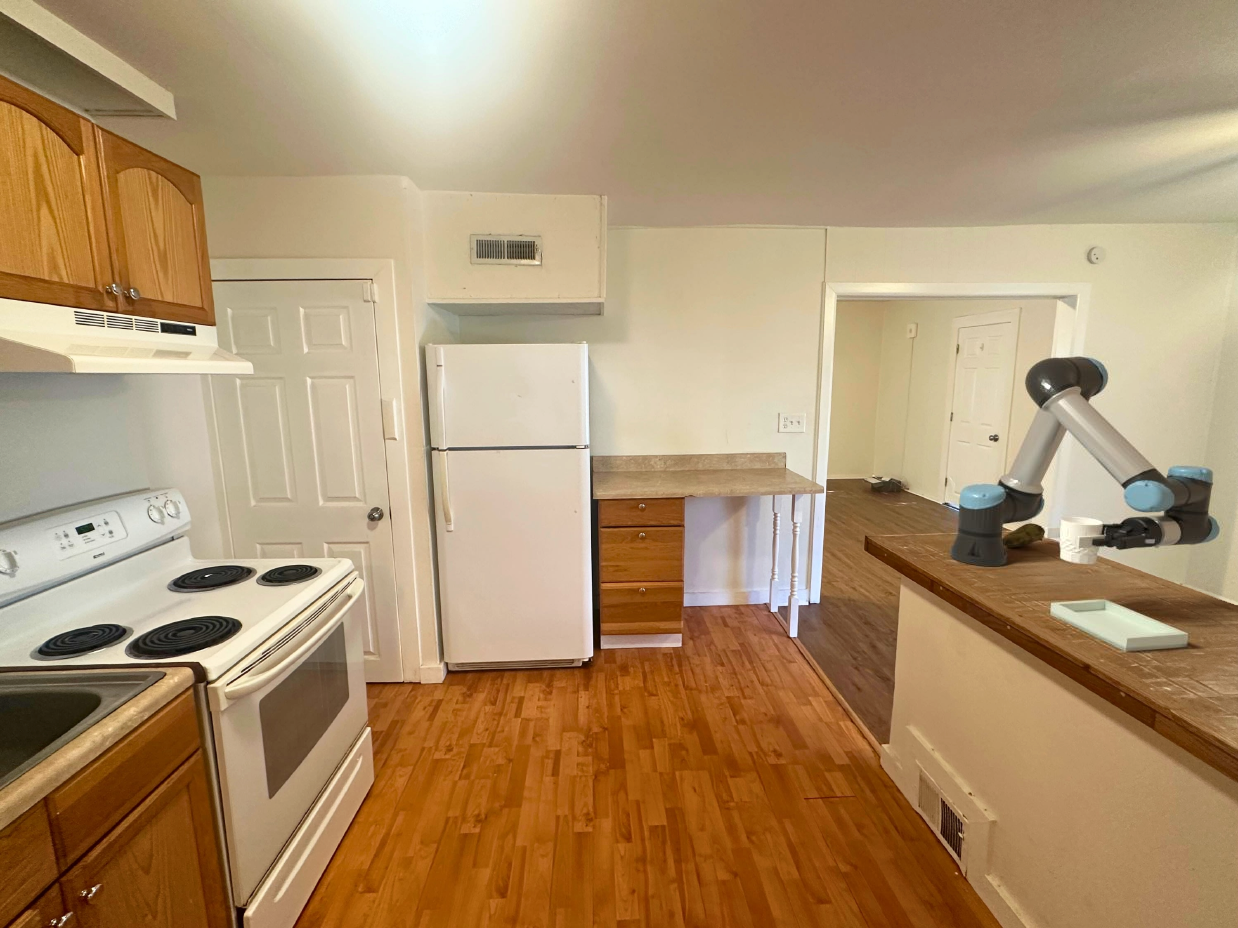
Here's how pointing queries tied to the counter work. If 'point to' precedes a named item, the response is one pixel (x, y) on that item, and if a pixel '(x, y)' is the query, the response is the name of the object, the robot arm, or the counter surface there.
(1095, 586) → the counter surface
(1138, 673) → the counter surface
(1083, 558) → the white cup
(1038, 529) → the avocado
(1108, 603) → the tray
